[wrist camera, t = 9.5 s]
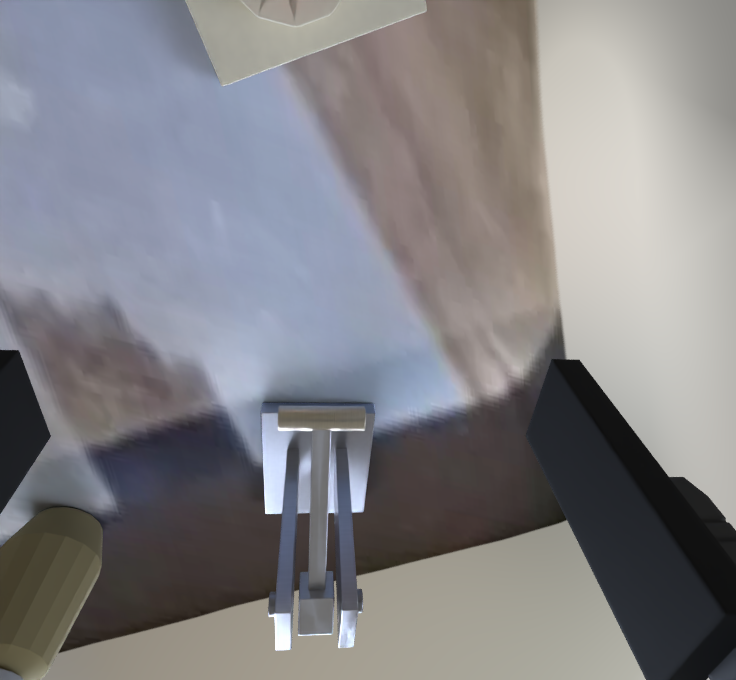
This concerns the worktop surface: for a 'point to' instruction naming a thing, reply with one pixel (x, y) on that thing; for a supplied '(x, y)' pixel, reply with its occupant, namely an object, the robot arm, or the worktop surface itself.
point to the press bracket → (292, 496)
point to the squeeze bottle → (45, 587)
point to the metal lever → (319, 507)
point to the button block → (285, 29)
